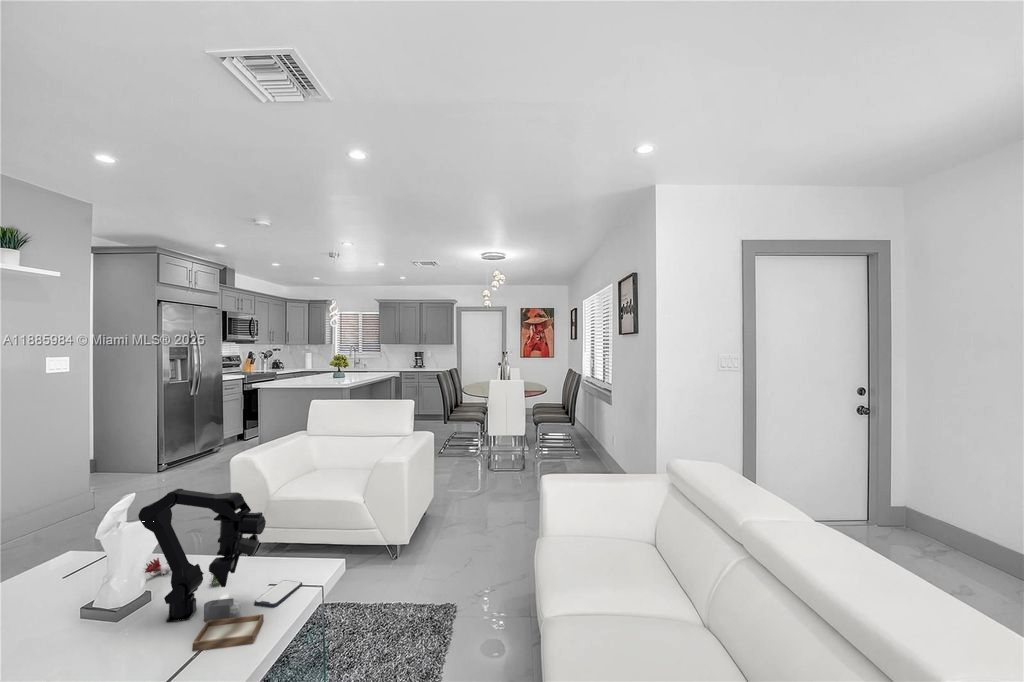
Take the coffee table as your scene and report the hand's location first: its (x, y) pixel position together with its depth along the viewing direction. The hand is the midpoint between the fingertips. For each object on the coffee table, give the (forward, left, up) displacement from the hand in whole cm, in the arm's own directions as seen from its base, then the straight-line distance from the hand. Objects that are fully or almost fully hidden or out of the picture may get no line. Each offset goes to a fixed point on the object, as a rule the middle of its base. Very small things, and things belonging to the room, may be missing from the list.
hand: (228, 579), depth 155 cm
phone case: (+13, +10, -13) cm, 21 cm away
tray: (+4, -12, -12) cm, 17 cm away
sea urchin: (-11, +22, -12) cm, 28 cm away
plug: (-2, -1, -12) cm, 12 cm away
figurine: (-35, +36, -12) cm, 52 cm away
